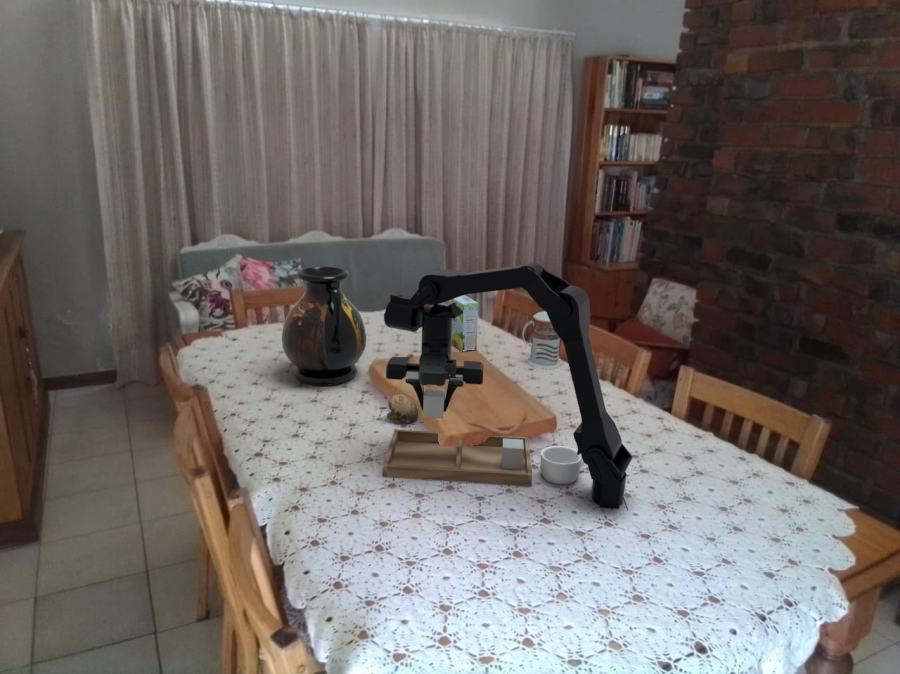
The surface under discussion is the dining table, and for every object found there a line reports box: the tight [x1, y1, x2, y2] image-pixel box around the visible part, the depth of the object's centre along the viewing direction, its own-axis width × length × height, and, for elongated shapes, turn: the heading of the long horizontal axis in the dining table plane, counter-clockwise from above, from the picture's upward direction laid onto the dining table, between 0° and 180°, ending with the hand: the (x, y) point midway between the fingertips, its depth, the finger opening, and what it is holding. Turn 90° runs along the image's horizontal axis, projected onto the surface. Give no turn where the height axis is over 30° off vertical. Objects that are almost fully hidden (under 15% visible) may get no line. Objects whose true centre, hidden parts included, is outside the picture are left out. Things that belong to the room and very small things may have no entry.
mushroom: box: [386, 393, 419, 424], centre depth 154 cm, size 8×8×6 cm
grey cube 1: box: [422, 387, 447, 419], centre depth 135 cm, size 4×4×4 cm
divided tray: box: [382, 428, 533, 487], centre depth 135 cm, size 16×28×3 cm, turn 86°
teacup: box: [540, 445, 586, 485], centre depth 131 cm, size 10×8×5 cm
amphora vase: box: [281, 266, 367, 386], centre depth 175 cm, size 22×22×28 cm
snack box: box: [440, 295, 479, 352], centre depth 209 cm, size 21×6×15 cm, turn 25°
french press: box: [521, 310, 562, 370], centre depth 190 cm, size 10×12×25 cm
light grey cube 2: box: [502, 438, 524, 470], centre depth 134 cm, size 4×4×4 cm
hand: (434, 410), depth 136 cm, fingers closed on grey cube 1, 4 cm apart
